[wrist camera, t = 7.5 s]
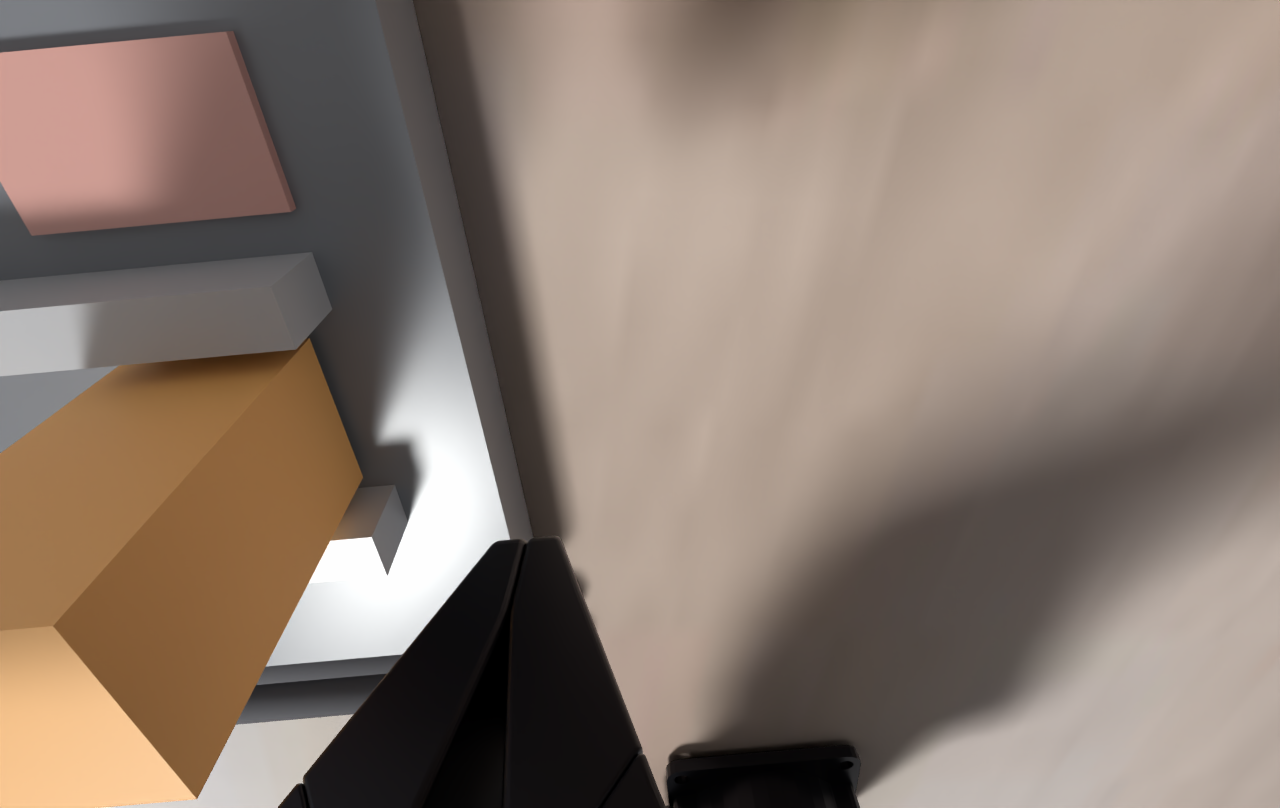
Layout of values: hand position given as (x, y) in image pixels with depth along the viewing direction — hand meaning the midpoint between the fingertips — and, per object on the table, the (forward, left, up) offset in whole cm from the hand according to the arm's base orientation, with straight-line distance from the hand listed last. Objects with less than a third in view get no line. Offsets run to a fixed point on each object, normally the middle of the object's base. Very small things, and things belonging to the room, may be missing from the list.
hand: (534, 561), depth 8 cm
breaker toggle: (+5, 0, -4) cm, 7 cm away
